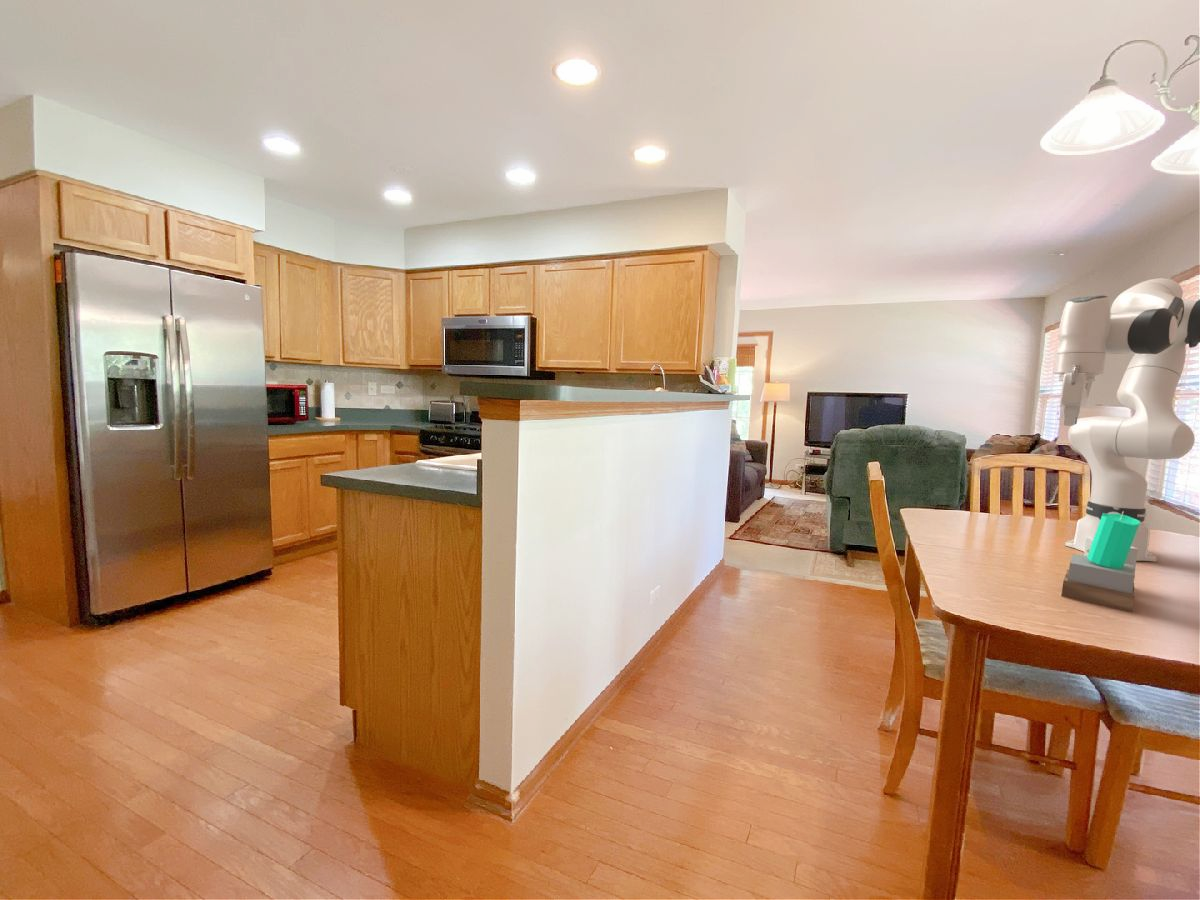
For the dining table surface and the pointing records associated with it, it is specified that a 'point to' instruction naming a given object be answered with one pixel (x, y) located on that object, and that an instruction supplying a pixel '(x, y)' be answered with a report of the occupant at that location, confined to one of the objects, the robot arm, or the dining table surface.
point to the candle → (1113, 540)
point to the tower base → (1097, 595)
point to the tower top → (1101, 574)
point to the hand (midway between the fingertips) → (1070, 425)
